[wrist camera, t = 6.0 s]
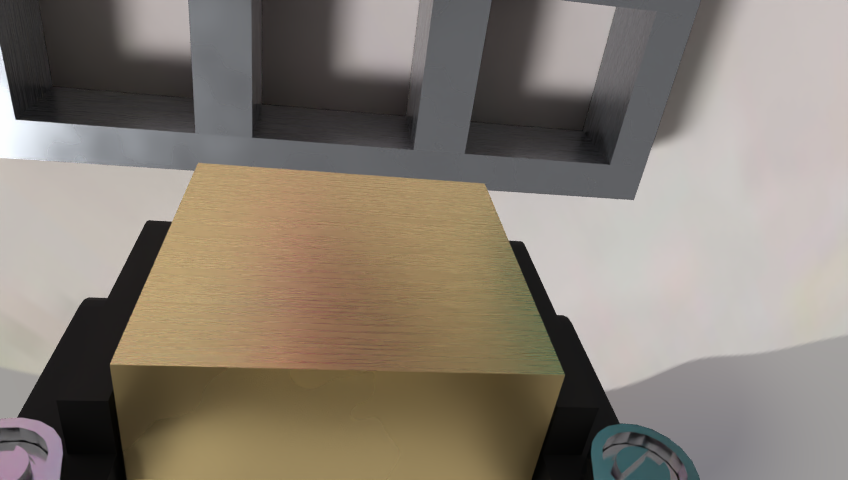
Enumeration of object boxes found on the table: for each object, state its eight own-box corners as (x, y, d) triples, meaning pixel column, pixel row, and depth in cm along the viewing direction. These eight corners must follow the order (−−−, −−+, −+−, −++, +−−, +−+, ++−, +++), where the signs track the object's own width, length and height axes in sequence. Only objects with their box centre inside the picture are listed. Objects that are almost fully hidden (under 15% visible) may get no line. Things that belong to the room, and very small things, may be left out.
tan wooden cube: (198, 162, 10) (109, 363, 6) (484, 183, 11) (564, 375, 7) (208, 381, 12) (149, 627, 9) (443, 386, 13) (486, 614, 9)
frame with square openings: (-34, -138, 21) (-93, -134, 19) (667, -45, 26) (710, -29, 23) (18, 119, 26) (-23, 156, 23) (604, 164, 30) (633, 200, 27)
